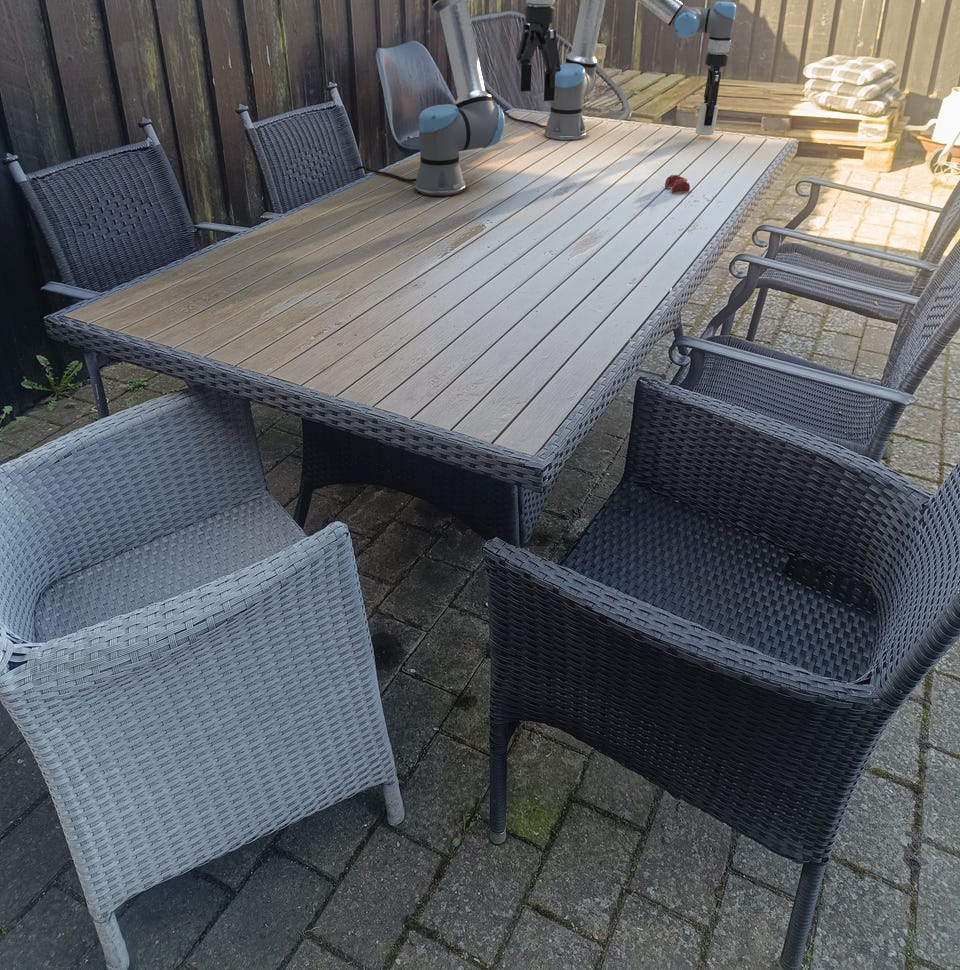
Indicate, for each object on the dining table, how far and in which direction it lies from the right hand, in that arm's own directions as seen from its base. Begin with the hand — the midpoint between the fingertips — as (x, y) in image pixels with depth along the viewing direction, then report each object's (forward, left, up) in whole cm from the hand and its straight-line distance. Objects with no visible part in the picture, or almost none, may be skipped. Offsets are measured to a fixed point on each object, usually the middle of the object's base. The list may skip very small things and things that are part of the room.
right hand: (706, 122), depth 307 cm
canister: (0, 0, -3) cm, 3 cm away
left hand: (+66, -83, +25) cm, 109 cm away
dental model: (+57, -35, -5) cm, 68 cm away
